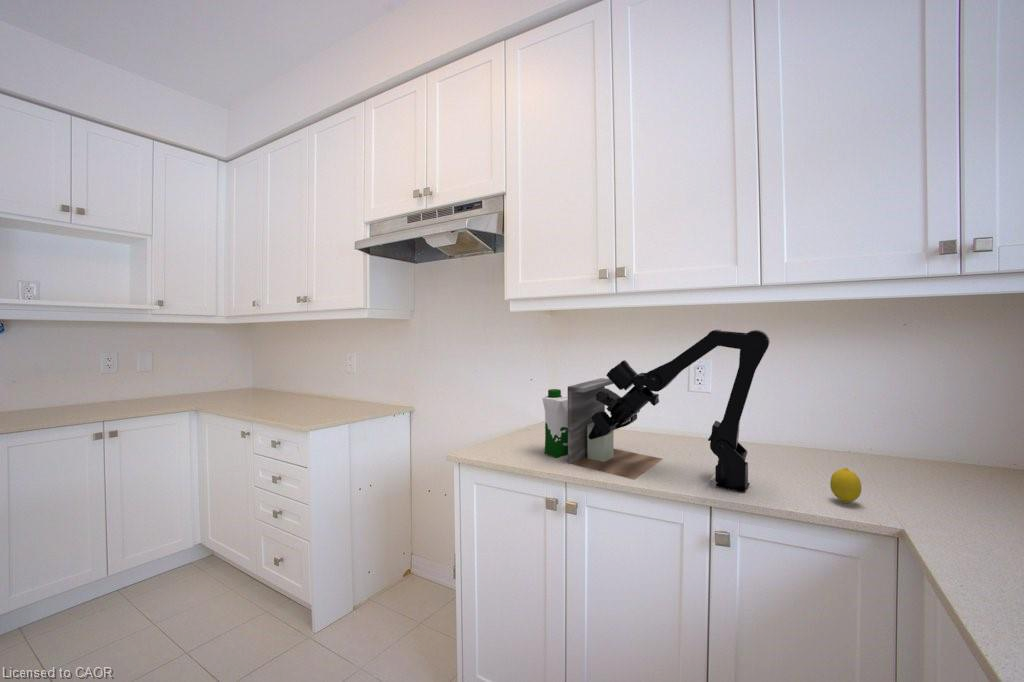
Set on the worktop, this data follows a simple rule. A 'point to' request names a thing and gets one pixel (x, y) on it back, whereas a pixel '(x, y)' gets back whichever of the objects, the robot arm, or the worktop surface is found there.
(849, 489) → the lemon
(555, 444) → the milk carton
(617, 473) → the dock
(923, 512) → the worktop surface
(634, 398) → the robot arm
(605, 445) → the pale green lidded box
